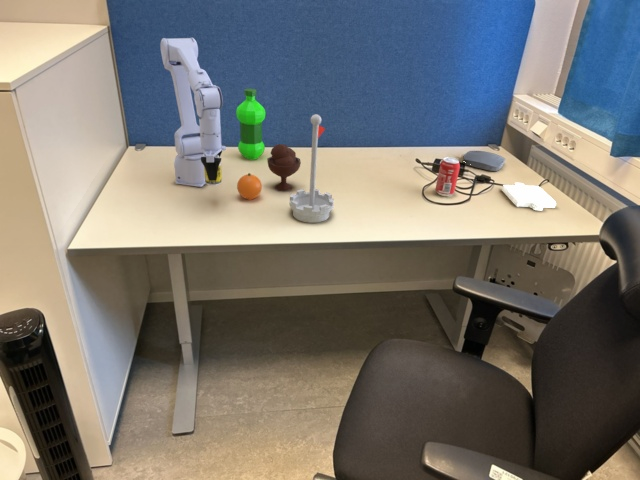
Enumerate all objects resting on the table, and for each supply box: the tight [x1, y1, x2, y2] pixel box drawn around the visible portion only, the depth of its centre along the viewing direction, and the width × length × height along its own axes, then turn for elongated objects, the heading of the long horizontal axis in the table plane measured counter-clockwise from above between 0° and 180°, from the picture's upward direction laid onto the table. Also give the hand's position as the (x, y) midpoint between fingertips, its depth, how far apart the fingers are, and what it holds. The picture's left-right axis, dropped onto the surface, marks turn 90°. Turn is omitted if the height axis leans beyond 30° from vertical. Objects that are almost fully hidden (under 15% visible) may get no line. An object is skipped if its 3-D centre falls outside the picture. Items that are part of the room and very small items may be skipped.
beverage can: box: [435, 156, 461, 197], centre depth 157 cm, size 6×6×12 cm
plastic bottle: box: [235, 88, 266, 160], centre depth 172 cm, size 10×10×25 cm
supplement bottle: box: [204, 155, 223, 187], centre depth 137 cm, size 5×5×8 cm
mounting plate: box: [501, 182, 557, 212], centre depth 159 cm, size 18×13×2 cm
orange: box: [236, 173, 263, 201], centre depth 146 cm, size 8×8×8 cm
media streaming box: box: [461, 150, 506, 172], centre depth 186 cm, size 15×15×3 cm
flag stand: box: [289, 113, 335, 224], centre depth 133 cm, size 13×13×30 cm
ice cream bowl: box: [267, 143, 302, 192], centre depth 153 cm, size 11×11×15 cm
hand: (213, 176), depth 139 cm, fingers closed on supplement bottle, 5 cm apart
